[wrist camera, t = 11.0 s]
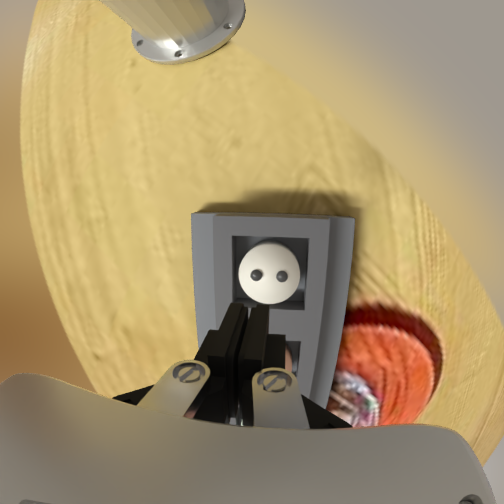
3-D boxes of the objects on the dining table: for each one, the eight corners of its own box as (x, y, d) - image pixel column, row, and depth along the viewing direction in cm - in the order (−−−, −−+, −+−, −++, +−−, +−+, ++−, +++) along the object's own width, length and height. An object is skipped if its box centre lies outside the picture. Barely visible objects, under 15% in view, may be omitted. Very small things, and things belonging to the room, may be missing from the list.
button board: (196, 212, 25) (183, 216, 21) (350, 216, 23) (361, 221, 20) (211, 422, 31) (205, 440, 28) (317, 429, 29) (318, 449, 26)
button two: (242, 239, 23) (238, 244, 21) (300, 241, 22) (301, 247, 20) (242, 293, 24) (238, 303, 22) (297, 295, 23) (298, 306, 21)
